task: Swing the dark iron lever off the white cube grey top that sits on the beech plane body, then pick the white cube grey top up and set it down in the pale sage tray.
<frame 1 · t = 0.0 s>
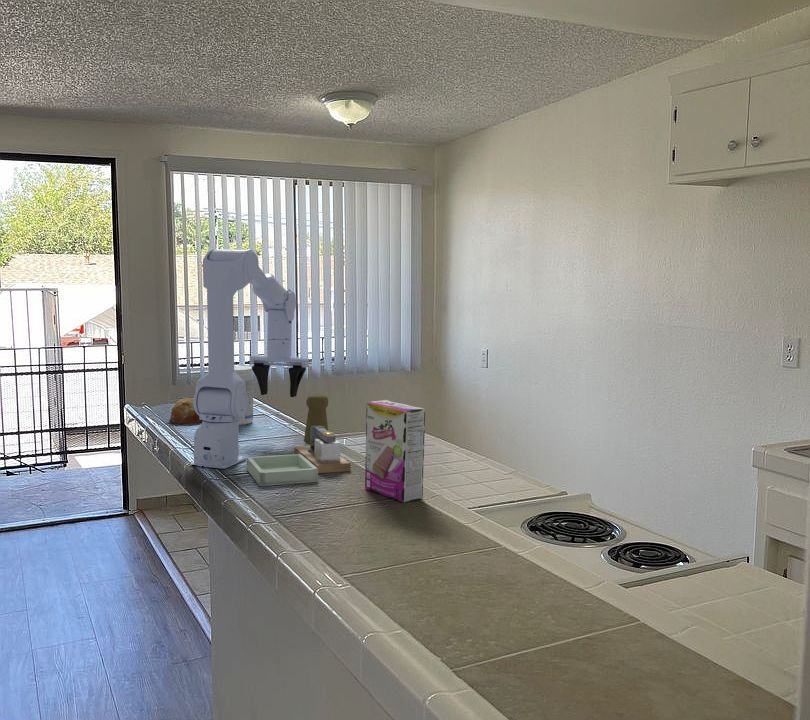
hand: (278, 395, 182), 10 cm above the counter, fingers open, 7 cm apart
tray: (281, 475, 147), on the counter
bread roll: (190, 421, 201), on the counter
supplement tub: (234, 423, 200), on the counter
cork: (316, 441, 181), on the counter
candy bar box: (392, 495, 136), on the counter
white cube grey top: (327, 459, 155), point 2 cm above the counter, touching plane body
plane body: (320, 461, 159), on the counter
lever: (323, 441, 158), point 5 cm above the counter, hinge at 0.0°
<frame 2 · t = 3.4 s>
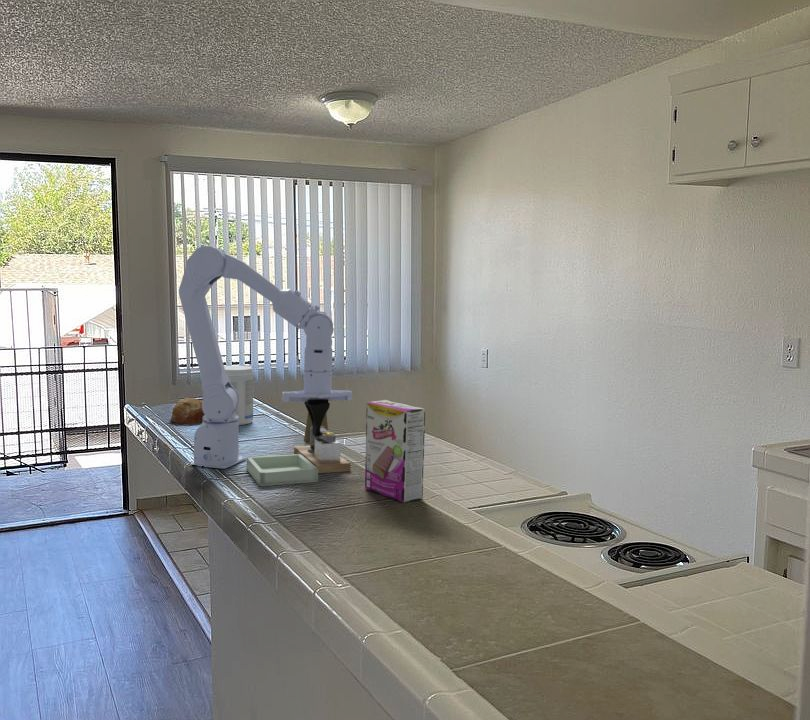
hand: (316, 435, 158), 6 cm above the counter, fingers closed, pressing on lever
lever: (323, 441, 158), point 5 cm above the counter, hinge at 0.0°, touching gripper
everything else where it was.
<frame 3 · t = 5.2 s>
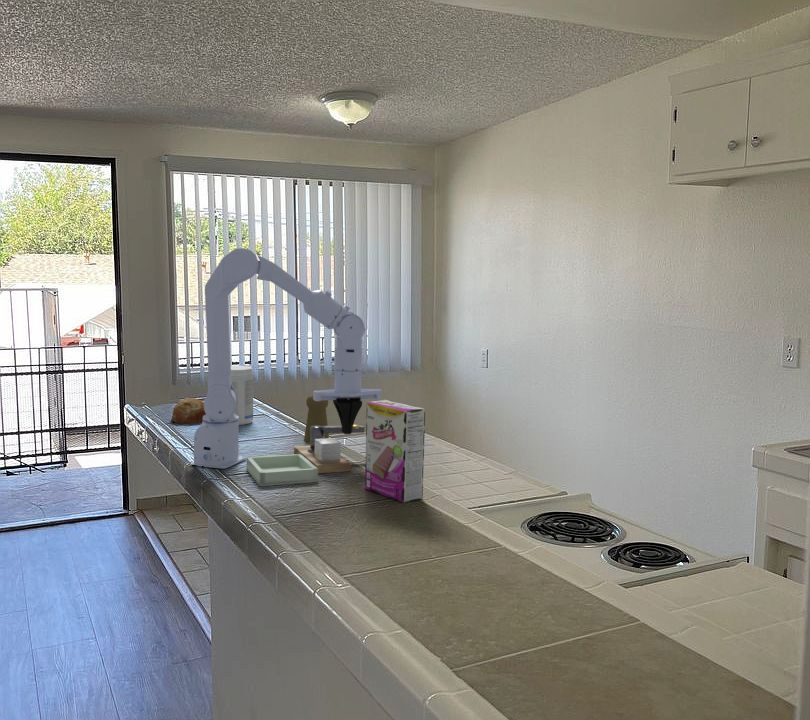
hand: (346, 433, 161), 6 cm above the counter, fingers closed, pressing on lever
lever: (337, 436, 162), point 5 cm above the counter, hinge at 80.2°, touching gripper
everything else where it was.
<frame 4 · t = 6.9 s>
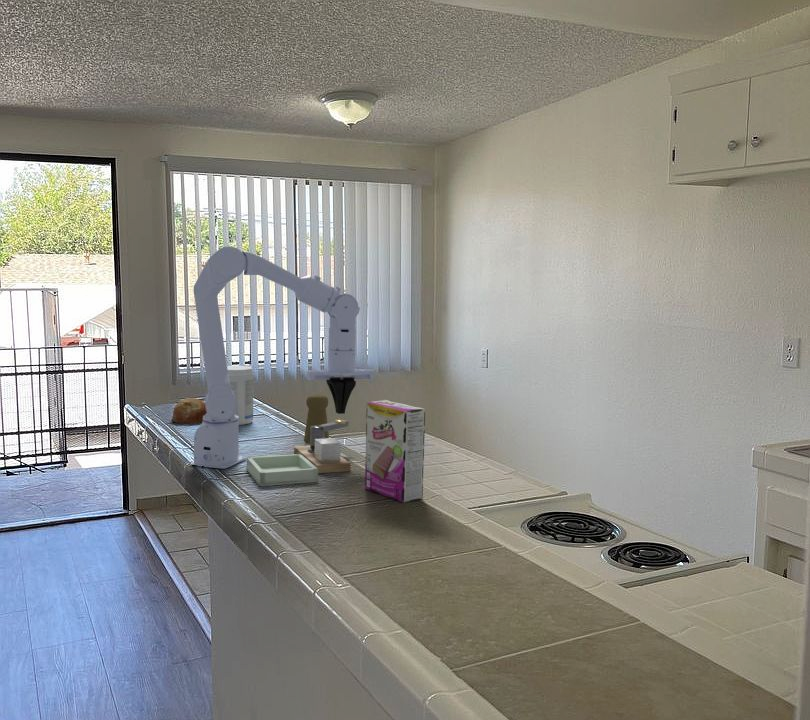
hand: (340, 412, 162), 10 cm above the counter, fingers closed
lever: (329, 434, 165), point 5 cm above the counter, hinge at 125.7°
everything else where it was.
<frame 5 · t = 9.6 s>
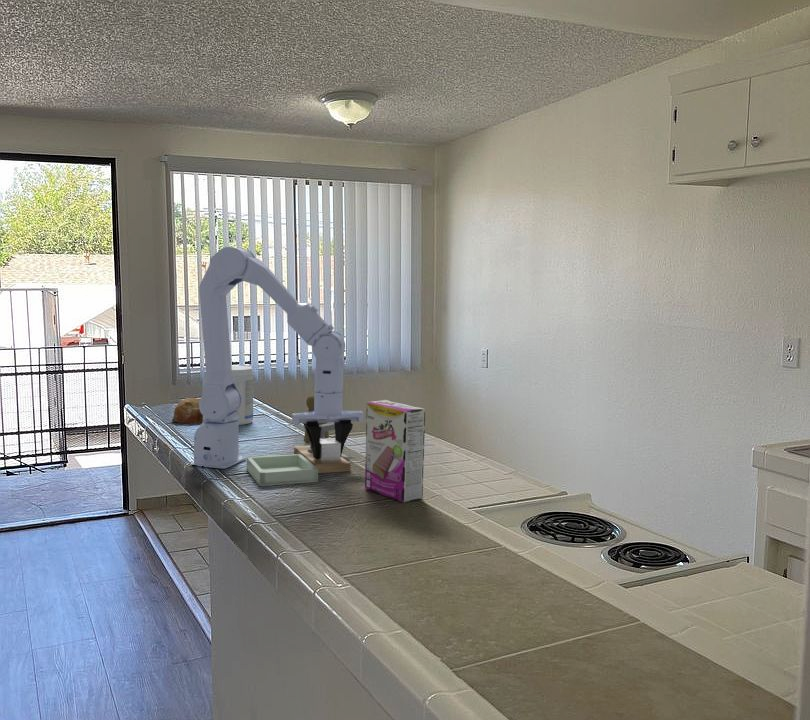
hand: (327, 457, 155), 2 cm above the counter, fingers closed on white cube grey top, 4 cm apart
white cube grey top: (327, 459, 155), point 2 cm above the counter, touching gripper, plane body
everything else where it was.
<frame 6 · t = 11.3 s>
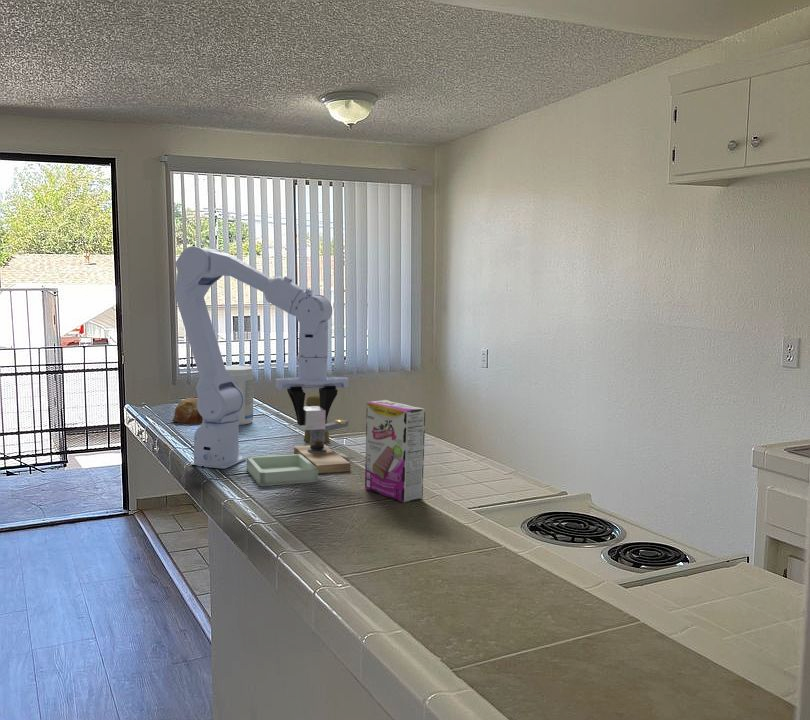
hand: (311, 424, 151), 9 cm above the counter, fingers closed on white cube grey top, 4 cm apart
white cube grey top: (311, 427, 151), point 9 cm above the counter, touching gripper
everything else where it was.
when the fingers open (3 cm above the counter, at t = 13.5 s): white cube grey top drops 2 cm, resting on tray.
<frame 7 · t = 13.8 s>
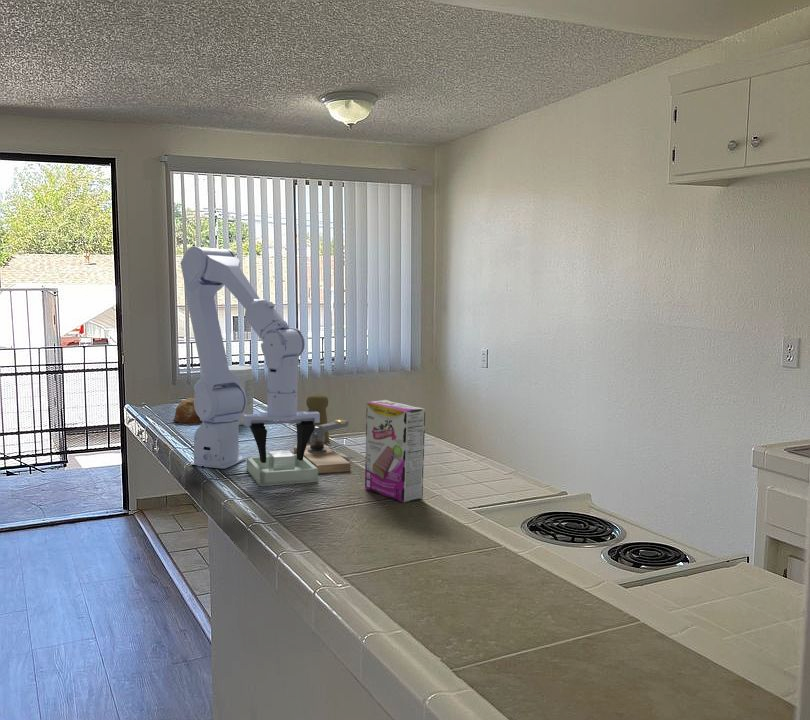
hand: (281, 460, 147), 3 cm above the counter, fingers open, 7 cm apart
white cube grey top: (281, 472, 147), resting on tray
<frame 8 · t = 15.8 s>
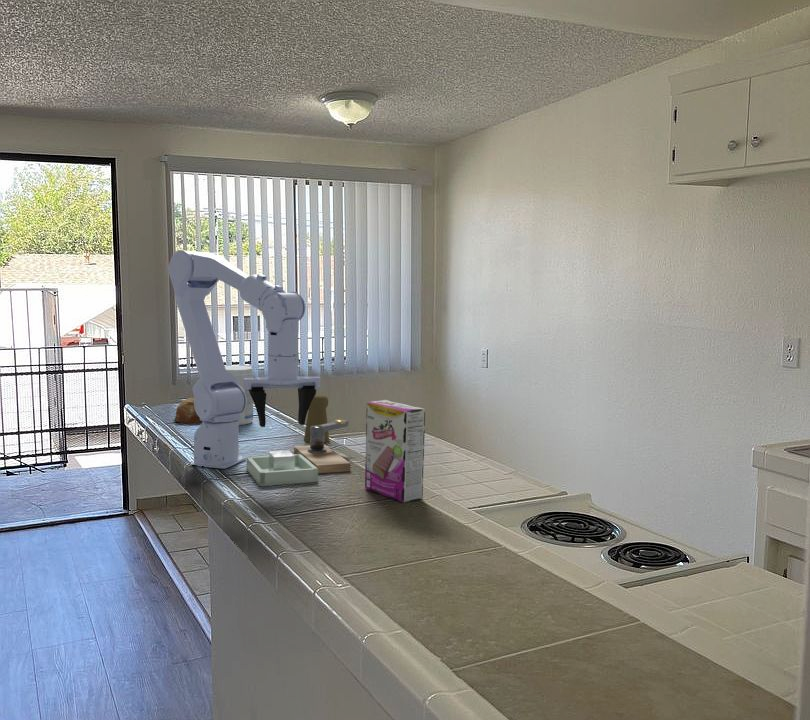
hand: (282, 425, 146), 10 cm above the counter, fingers open, 7 cm apart
at the end: lever at +126° (first picture: +0°); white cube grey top inside the target area on the tray (0.1 cm from its centre), point 0.5 cm above the tray's base; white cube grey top tilted 0° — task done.
